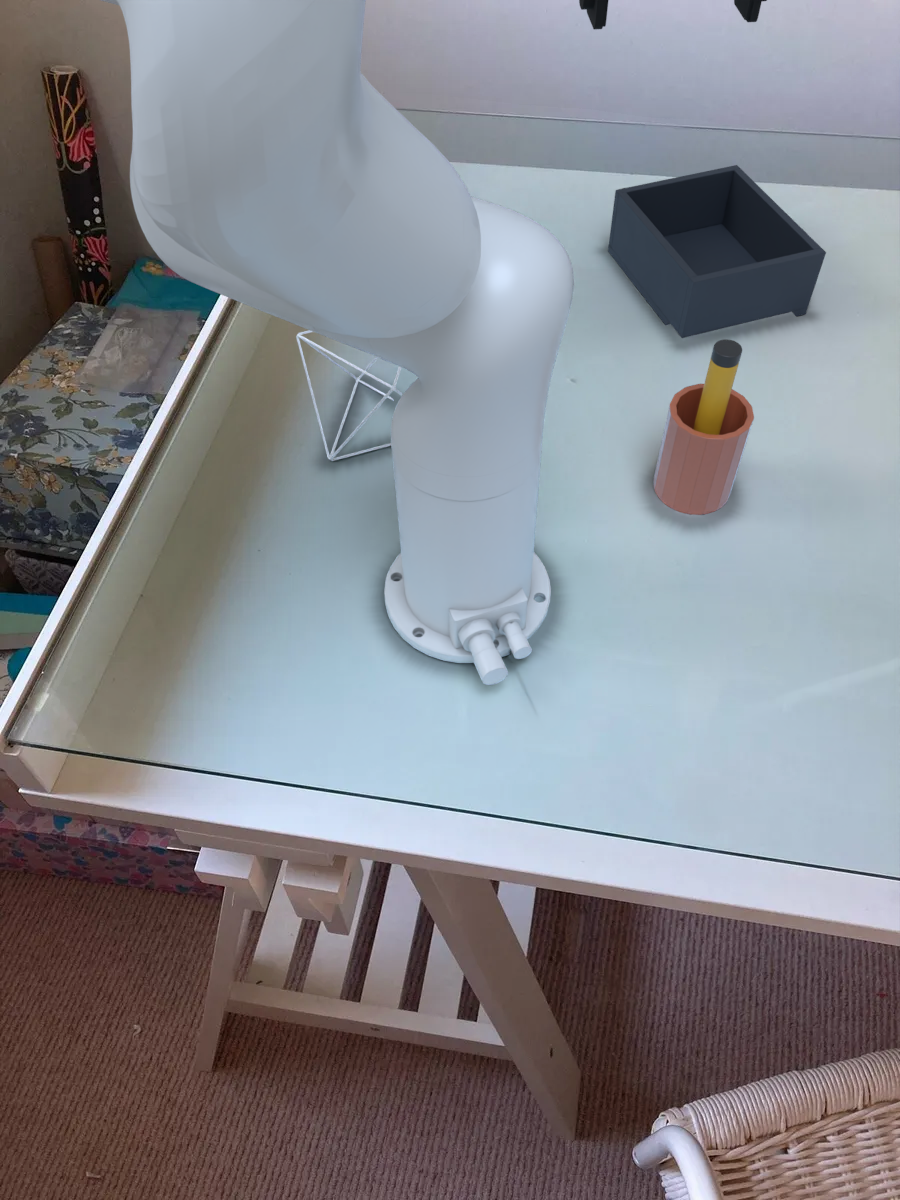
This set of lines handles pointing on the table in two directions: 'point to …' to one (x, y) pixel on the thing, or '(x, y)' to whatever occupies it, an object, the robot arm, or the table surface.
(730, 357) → the pencil
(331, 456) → the geometric polyhedron
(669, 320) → the bin
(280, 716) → the table surface
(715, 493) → the pencil cup
